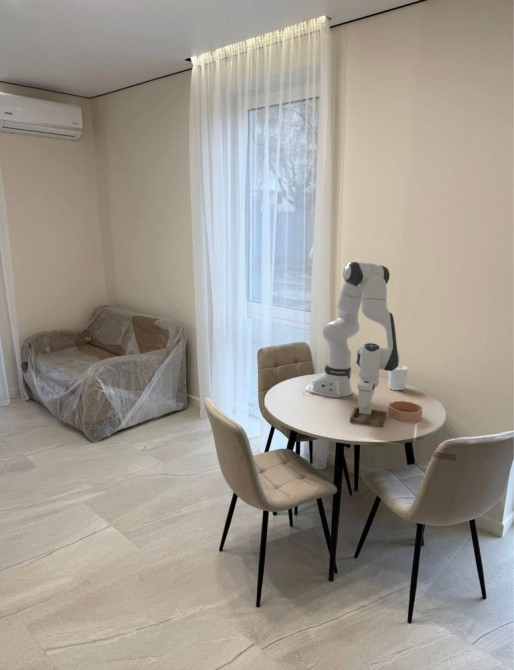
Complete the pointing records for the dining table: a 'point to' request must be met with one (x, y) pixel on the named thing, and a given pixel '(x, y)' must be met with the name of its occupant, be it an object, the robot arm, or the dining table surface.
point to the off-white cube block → (369, 409)
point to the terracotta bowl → (405, 411)
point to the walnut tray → (368, 418)
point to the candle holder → (398, 378)
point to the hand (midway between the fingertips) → (365, 410)
